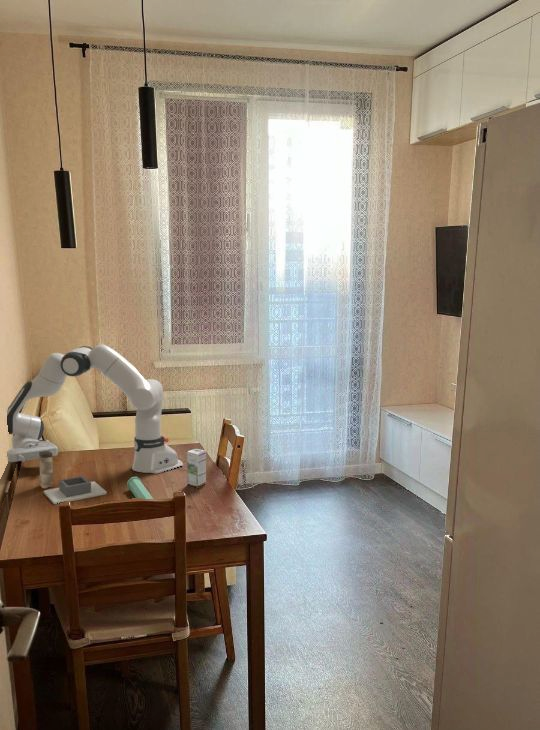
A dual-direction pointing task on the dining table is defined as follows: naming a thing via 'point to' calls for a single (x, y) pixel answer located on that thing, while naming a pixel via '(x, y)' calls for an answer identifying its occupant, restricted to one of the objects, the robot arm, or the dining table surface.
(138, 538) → the dining table surface
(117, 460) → the dining table surface
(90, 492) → the collar stand
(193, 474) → the syrup box
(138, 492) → the container
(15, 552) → the dining table surface
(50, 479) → the spice jar
